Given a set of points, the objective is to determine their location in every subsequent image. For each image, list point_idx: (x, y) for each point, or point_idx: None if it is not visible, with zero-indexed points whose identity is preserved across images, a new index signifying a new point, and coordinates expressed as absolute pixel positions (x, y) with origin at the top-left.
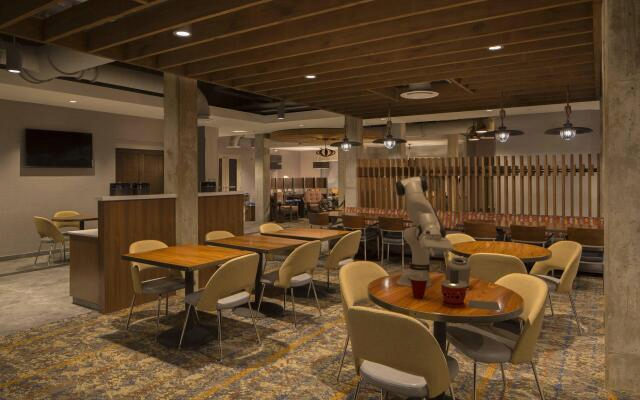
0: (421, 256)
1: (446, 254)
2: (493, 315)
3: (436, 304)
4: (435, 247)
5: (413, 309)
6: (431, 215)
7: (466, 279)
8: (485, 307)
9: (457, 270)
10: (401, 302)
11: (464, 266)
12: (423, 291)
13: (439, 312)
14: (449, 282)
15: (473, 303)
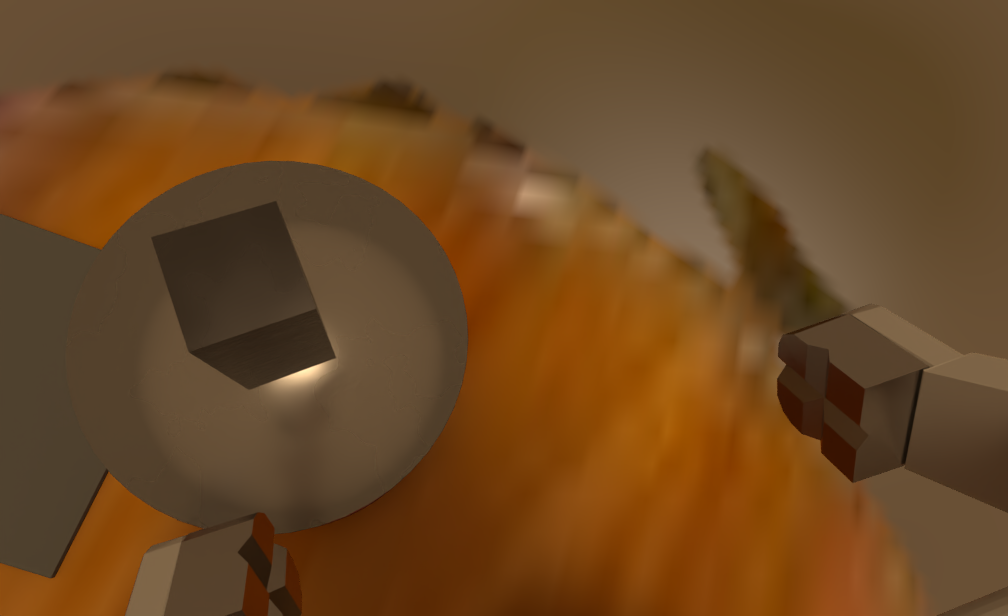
0: None
1: (257, 576)
2: (85, 81)
3: (469, 445)
4: (1002, 589)
5: (701, 308)
6: None
7: None
8: (19, 280)
9: (188, 226)
10: (773, 529)
11: None
12: None
13: (516, 211)
14: (346, 355)
15: (66, 432)
